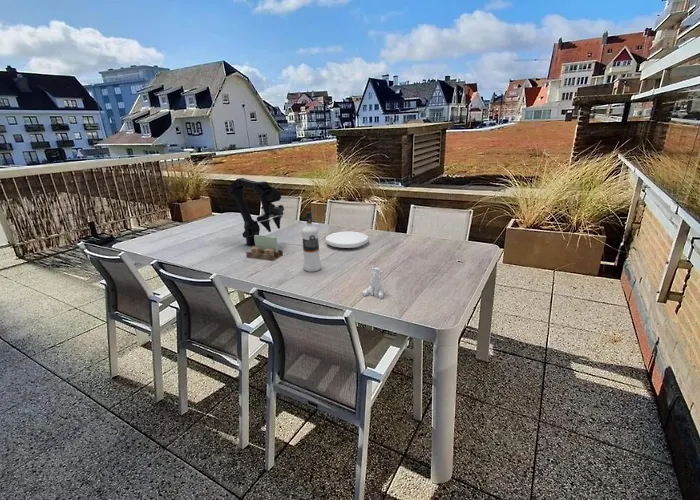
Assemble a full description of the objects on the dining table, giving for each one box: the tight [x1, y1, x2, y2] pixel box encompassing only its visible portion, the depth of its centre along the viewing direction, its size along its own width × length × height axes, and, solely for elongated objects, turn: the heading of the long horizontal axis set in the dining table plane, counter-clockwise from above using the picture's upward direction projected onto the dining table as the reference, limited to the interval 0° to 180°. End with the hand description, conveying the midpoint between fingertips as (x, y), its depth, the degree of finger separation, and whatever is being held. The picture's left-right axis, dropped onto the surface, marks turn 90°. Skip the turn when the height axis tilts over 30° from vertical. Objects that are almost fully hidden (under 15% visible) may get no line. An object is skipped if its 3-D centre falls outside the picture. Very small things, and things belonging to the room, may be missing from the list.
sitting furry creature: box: [361, 267, 384, 300], centre depth 150 cm, size 10×9×12 cm
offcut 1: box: [250, 246, 261, 253], centre depth 196 cm, size 4×3×5 cm
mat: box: [280, 242, 303, 247], centre depth 211 cm, size 18×12×1 cm, turn 68°
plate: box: [325, 230, 370, 249], centre depth 216 cm, size 28×6×27 cm
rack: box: [245, 249, 284, 262], centre depth 196 cm, size 18×9×4 cm, turn 68°
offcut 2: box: [264, 248, 274, 255], centre depth 192 cm, size 4×3×5 cm
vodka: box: [301, 211, 322, 273], centre depth 175 cm, size 9×9×30 cm
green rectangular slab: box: [254, 234, 279, 252], centre depth 197 cm, size 14×2×11 cm, turn 68°
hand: (274, 230), depth 201 cm, fingers open, 9 cm apart
